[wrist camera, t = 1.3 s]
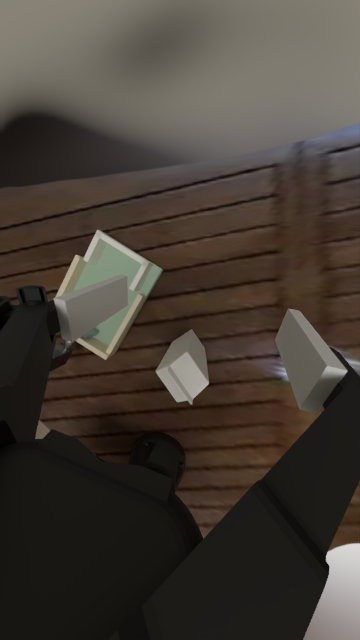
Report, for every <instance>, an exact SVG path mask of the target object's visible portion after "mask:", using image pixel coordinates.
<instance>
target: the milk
mask: <svg viewBox="0 0 360 640" xmlns="http://www.w3.org/2000/svg"><path fill="white" fill-rule="evenodd" d="M155 372H156V373H157V375H158V376H159V378H160V379H161V380H162V382H163V383H164V385H165V386H166V387H167V389H168V390H169V392H170V393H171V395H172V396H173V397H174V399H175V400H176V402H182V401H189V403H190V404H191V405H192V404H193V399H194V398H195V397H196V396H197V395H198V394H199V393H200V392H201V391H202V390H203V389H204V388H205V387H206V386H207V385H208V384H209V378H208V370H207V362H206V354H205V348H204V346H203V345H202V343H201V342H200V340H199V339H198V337H197V336H196V334H195V333H194V332H193V330H192V329H191V330H189V331H188V332H186V333H185V334H183V335H182V336H180V337H179V338H177V339H176V340H174V341H173V342H172V343H171V345H170V347H169V349H168V350H167V352H166V354H165V356H164V357H163V359H162V361H161V363H160V364H159V366H158V368H157V370H156V371H155Z"/></svg>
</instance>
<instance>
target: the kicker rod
mask: <svg viewBox="0 0 360 640" xmlns="http://www.w3.org/2000/svg"><path fill="white" fill-rule="evenodd" d="M98 332H99V331H98V330H97V329H95V328H93V329H91V330H90V331H88V332H87V333H85V334H84V335H82V337H83V338H85V339H88V338H90V337H93V336H95V335H97V334H98ZM73 342H74V341H73ZM73 342H70V341H66V343H65V344H63V343H61V344H58V345H55V348H54V353H53V357H52V362H51V366H50V371H52V370H54V369H56V368H58V367H60V366H62V365H64V364H66V362H67V360H68V358H69V357H70V355H71V353H72V351H73V349H71V346H72V344H73ZM50 371H49V372H50Z"/></svg>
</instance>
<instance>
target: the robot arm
mask: <svg viewBox="0 0 360 640" xmlns="http://www.w3.org/2000/svg"><path fill="white" fill-rule="evenodd" d="M16 292H17V296H18V299H19V302H20V304H19V305H12V304H11V301H10V298H9V297H7V296H0V640H303V638H304V636H305V632H306V631H307V628H308V626H309V623H310V621H311V619H312V616H313V614H314V611H315V609H316V607H317V604H318V602H319V599H320V597H321V594H322V592H323V589H324V587H325V584H326V581H327V578H328V575H329V565H328V564H327V562H326V561H325V560H326V554H327V552H328V549H329V547H330V545H331V543H332V540H333V538H334V536H335V534H336V532H337V529H338V527H339V525H340V523H341V521H342V518H343V516H344V514H345V512H346V510H347V507H348V505H349V503H350V501H351V499H352V496H353V494H354V492H355V490H356V487H357V485H358V483H359V481H360V376H359V375H358V374H357V373H356V372H355V370H354V369H353V368H352V367H351V366H349V363H348V362H347V361H346V360H345V359H344V358H343V356H342V355H341V354H340V353H339V352H337V351H336V350H335V349H333V348H332V347H328V346H327V344H326V343H325V342H324V341H323V339H322V338H321V337H320V336H319V334H318V333H317V332H316V331H315V329H314V328H313V327H312V326H311V324H310V323H309V322H308V321H307V319H306V318H305V317H304V316H303V315H302V313H301V312H300V311H298V310H293V309H288V310H287V313H286V315H285V317H284V320H283V322H282V325H281V327H280V329H279V332H278V334H277V336H276V339H275V341H276V344H277V347H278V350H279V353H280V355H281V358H282V361H283V364H284V367H285V369H286V372H287V375H288V378H289V381H290V383H291V386H292V389H293V392H294V395H295V398H296V400H297V403H298V406H299V409H301V410H304V411H308V412H311V413H314V414H317V413H318V412H319V410H320V409H321V408H322V406H324V408H325V410H324V411H323V412H322V413H321V414H320V416H319V417H318V418H317V419H316V420H315V421H314V422H313V423H312V424H311V425H310V427H309V428H308V429H307V430H306V431H305V432H304V433H303V434H302V435H301V436H300V438H299V439H298V440H297V441H296V442H295V443H294V444H293V445H292V446H291V448H290V449H289V450H288V451H287V452H286V453H285V454H284V455H283V456H282V457H281V459H280V460H279V461H278V462H277V463H276V464H275V465H274V466H273V467H272V468H271V470H270V471H269V472H268V473H267V474H266V475H265V476H264V477H263V478H262V479H261V480H258V481H257V482H256V483H255V484H254V485H253V486H252V487H251V488H250V489H249V490H248V491H247V492H246V493H245V495H244V496H243V497H242V498H241V499H240V500H239V501H238V502H237V503H236V504H235V505H234V507H233V508H232V509H231V510H230V511H229V512H228V513H227V514H226V515H225V516H224V517H223V518H222V520H221V521H220V522H219V523H218V524H217V525H216V526H215V527H214V528H213V529H212V530H211V531H210V533H209V534H208V535H207V536H206V537H205V538H204V539H203V537H202V535H201V532H200V530H199V527H198V525H197V523H196V522H195V520H194V518H193V516H192V514H191V513H190V511H189V510H188V508H187V507H186V505H185V504H184V503H183V502H182V501H181V500H180V498H179V497H178V496H177V495H176V494H175V492H176V490H177V488H178V485H179V483H180V481H181V479H182V476H183V474H184V470H185V454H184V451H183V449H182V447H181V445H180V444H179V443H178V442H177V441H176V440H175V439H173V438H172V437H170V436H168V435H165V434H162V433H150V434H146V435H144V436H142V437H141V438H140V439H138V441H137V442H136V443H135V445H134V447H133V449H132V452H131V455H130V461H129V464H116V463H106V462H105V461H103V460H102V459H100V458H98V457H97V455H96V454H93V453H92V452H91V451H90V450H89V449H88V448H87V447H85V446H84V445H83V444H82V443H81V442H80V441H79V440H77V439H75V438H73V437H70V436H68V435H65V434H63V433H60V432H58V431H56V430H53V429H52V430H51V431H50V432H49V433H48V434H47V435H46V436H45V437H44V438H43V439H35V435H36V429H37V426H38V421H39V417H40V412H41V407H42V403H43V398H44V394H45V389H46V385H47V380H48V376H49V371H50V366H51V362H52V357H53V353H54V348H55V344H56V335H55V334H56V333H58V332H59V331H61V336H62V339H64V340H67V341H70V342H73V341H75V340H76V339H78V338H79V337H81V336H82V335H84V334H85V333H87V332H88V331H90V330H91V329H93V328H94V327H96V326H97V325H99V324H100V323H102V322H103V321H105V320H107V319H108V318H110V317H111V316H113V315H114V314H116V313H117V312H119V311H120V310H122V309H123V308H125V307H126V306H128V290H127V276H123V275H117V276H115V277H112V278H109V279H106V280H103V281H101V282H98V283H95V284H92V285H89V286H87V287H84V288H81V289H78V290H75V291H73V292H70V293H67V294H64V295H61V296H59V297H56V298H54V300H52V301H49V302H48V300H47V295H46V291H45V287H42V286H24V287H20V288H17V289H16Z"/></svg>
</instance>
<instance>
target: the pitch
mask: <svg viewBox="0 0 360 640" xmlns="http://www.w3.org/2000/svg"><path fill="white" fill-rule="evenodd" d="M162 272H163V269H161V268H160V267H158V266H156V265H155V264H153V263H152V262H150V261H148V260H147V259H145V258H143V257H142V256H140V255H139V254H137V253H135V252H134V251H132V250H131V249H129V248H127V247H126V246H124V245H123V244H121V243H119V242H118V241H116V240H114V239H113V238H111V237H110V236H108V235H106V234H105V233H103V232H102V231H100V230H97V232H96V234H95V236H94V238H93V240H92V242H91V244H90V246H89V248H88V250H87V252H86V254H85V256H84V257H81V256H78V255H75V258H74V260H73V262H72V264H71V266H70V268H69V270H68V272H67V274H66V276H65V279H64V281H63V283H62V285H61V287H60V289H59V291H58V293H57V295H56V297H59V296H61V295H64V294H67V293H70V292H73V291H75V290H78V289H81V288H84V287H87V286H89V285H92V284H95V283H98V282H101V281H103V280H106V279H109V278H112V277H115V276H117V275H123V276H127V290H128V306H126V307H125V308H123V309H122V310H120V311H119V312H117V313H116V314H114V315H113V316H111V317H110V318H108V319H107V320H105V321H103V322H102V323H100V324H99V325H97V326H96V327H94V328H95V329H97V330H98V331H99V332H98V334H97V335H95V336H93V337H90V338H88V339H85V338H83V337H82V336H81V337H79V338H78V339H76V340H75V341H76V342H78V343H80V344H81V345H83V346H84V347H86V348H87V349H89V350H91V351H92V352H94V353H95V354H97V355H98V356H100V357H102V358H103V359H105V360H107V359H108V358H109V357H111V356H112V355H114V354H115V353H116V352H117V350H118V348H119V347H120V345H121V343H122V341H123V340H124V338H125V336H126V334H127V333H128V331H129V329H130V327H131V326H132V324H133V322H134V320H135V319H136V317H137V315H138V313H139V312H140V310H141V308H142V306H143V305H144V303H145V301H146V300H147V298H148V296H149V294H150V293H151V291H152V289H153V287H154V286H155V284H156V282H157V280H158V279H159V277H160V275H161V273H162ZM56 297H55V298H56Z"/></svg>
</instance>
